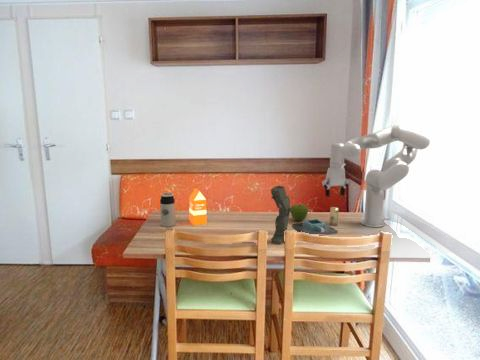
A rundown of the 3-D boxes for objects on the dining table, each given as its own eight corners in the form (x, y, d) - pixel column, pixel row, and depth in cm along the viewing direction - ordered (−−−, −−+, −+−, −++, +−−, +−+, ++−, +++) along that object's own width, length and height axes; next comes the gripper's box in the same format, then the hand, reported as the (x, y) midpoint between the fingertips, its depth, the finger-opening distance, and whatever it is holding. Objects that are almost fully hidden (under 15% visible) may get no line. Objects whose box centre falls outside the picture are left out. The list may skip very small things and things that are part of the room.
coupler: (334, 223, 210) (335, 206, 208) (339, 225, 205) (340, 208, 203) (327, 223, 208) (328, 207, 206) (332, 226, 204) (333, 209, 202)
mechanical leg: (284, 232, 191) (278, 180, 180) (296, 235, 186) (290, 182, 175) (270, 245, 181) (262, 191, 170) (282, 249, 177) (275, 194, 166)
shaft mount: (319, 223, 209) (320, 215, 209) (337, 233, 193) (338, 225, 192) (291, 226, 204) (292, 218, 203) (307, 236, 187) (307, 228, 186)
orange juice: (193, 225, 204) (193, 191, 200) (189, 221, 212) (188, 188, 208) (206, 224, 208) (206, 190, 204) (202, 219, 215) (201, 187, 212)
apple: (305, 217, 220) (306, 201, 218) (309, 222, 210) (310, 206, 208) (288, 217, 220) (288, 201, 218) (291, 223, 210) (291, 206, 208)
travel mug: (167, 222, 211) (165, 192, 207) (178, 224, 207) (177, 193, 204) (158, 226, 204) (156, 195, 200) (169, 228, 200) (168, 196, 197)
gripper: (346, 164, 206) (344, 193, 209) (319, 165, 201) (317, 195, 204) (354, 166, 199) (351, 196, 203) (326, 167, 194) (324, 198, 197)
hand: (334, 195), depth 203 cm, fingers open, 9 cm apart
